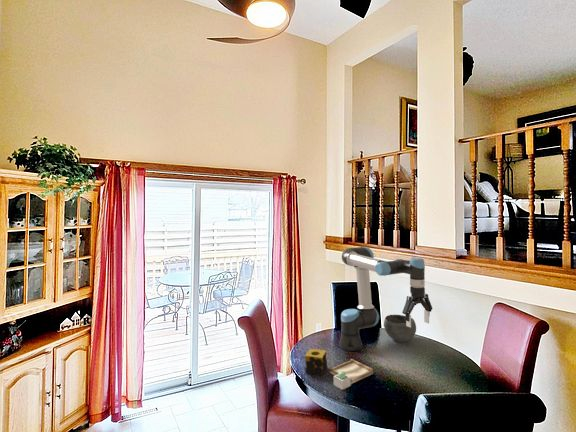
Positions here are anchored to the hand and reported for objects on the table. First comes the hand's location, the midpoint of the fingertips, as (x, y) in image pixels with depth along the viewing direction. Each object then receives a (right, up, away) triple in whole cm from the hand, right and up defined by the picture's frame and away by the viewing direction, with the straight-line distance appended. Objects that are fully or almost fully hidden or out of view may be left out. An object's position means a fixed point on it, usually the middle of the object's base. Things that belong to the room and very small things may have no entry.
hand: (417, 324), depth 177 cm
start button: (-44, -24, -13) cm, 52 cm away
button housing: (-44, -27, -13) cm, 53 cm away
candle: (-56, -27, +3) cm, 62 cm away
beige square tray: (-37, -27, -1) cm, 46 cm away
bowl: (+5, -26, +43) cm, 50 cm away
